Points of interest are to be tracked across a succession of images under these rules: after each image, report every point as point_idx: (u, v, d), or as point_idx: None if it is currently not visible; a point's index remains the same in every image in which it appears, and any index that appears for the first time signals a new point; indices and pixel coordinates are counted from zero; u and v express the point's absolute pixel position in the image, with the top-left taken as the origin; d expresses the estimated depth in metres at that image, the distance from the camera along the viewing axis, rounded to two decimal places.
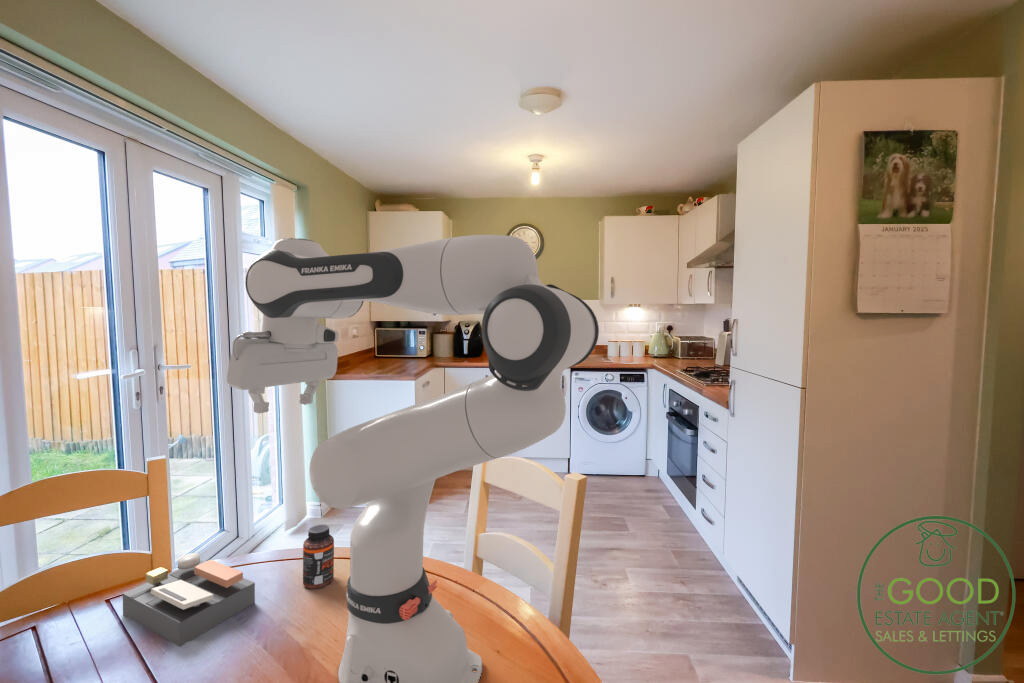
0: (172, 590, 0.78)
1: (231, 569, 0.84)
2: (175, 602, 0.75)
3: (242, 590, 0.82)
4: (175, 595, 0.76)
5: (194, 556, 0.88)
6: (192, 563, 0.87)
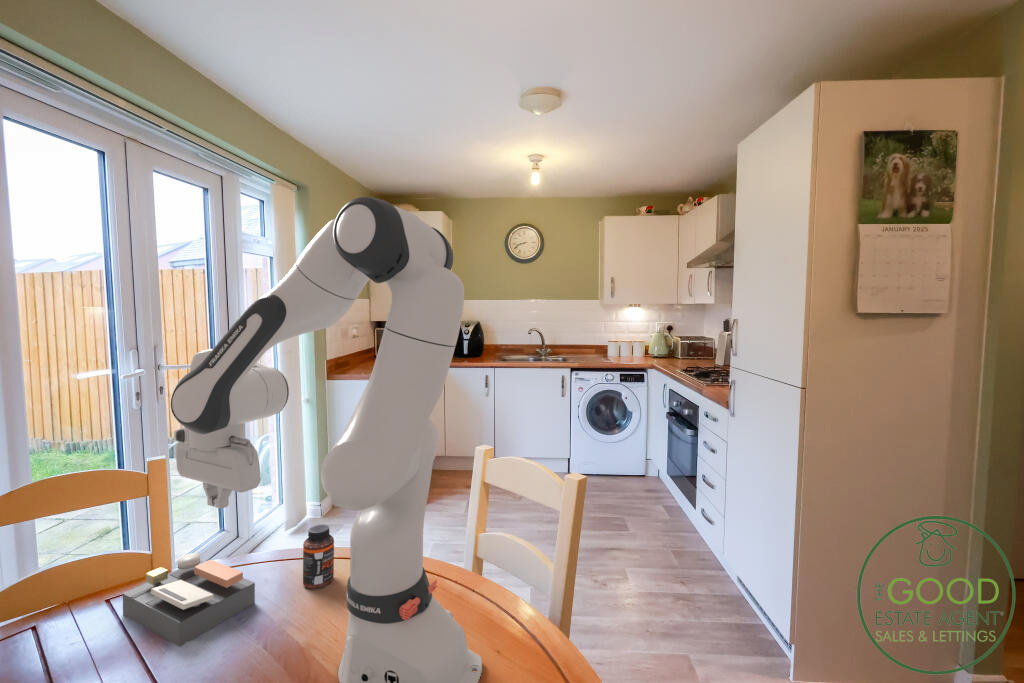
0: (172, 590, 0.78)
1: (231, 569, 0.84)
2: (175, 602, 0.75)
3: (242, 590, 0.82)
4: (175, 595, 0.76)
5: (194, 556, 0.88)
6: (192, 563, 0.87)
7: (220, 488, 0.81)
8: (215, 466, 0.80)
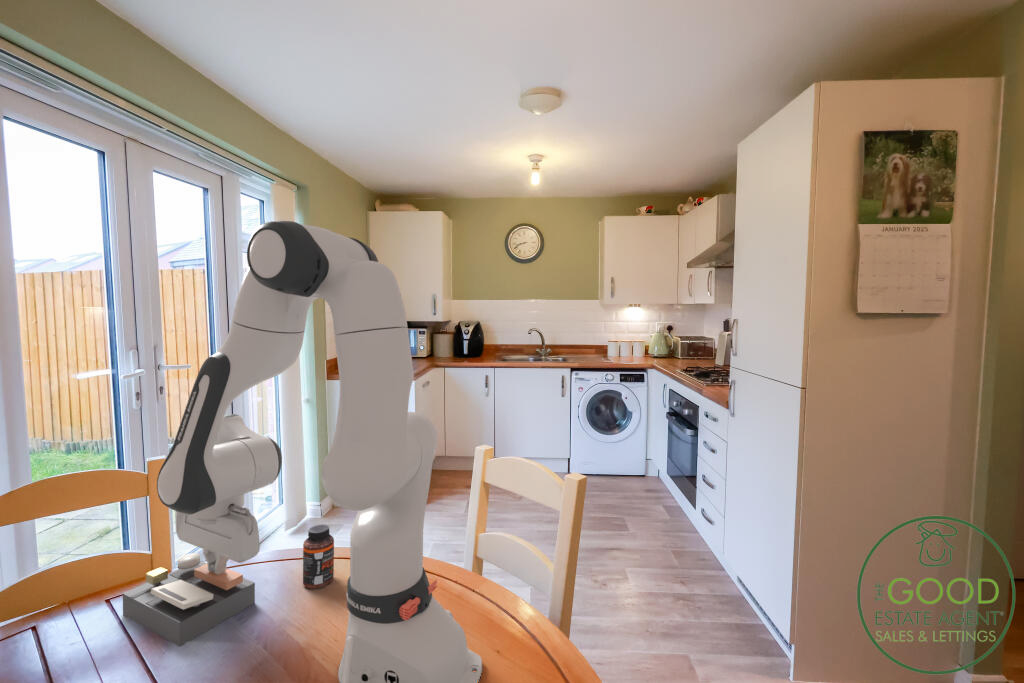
0: (172, 590, 0.78)
1: (231, 571, 0.84)
2: (175, 602, 0.75)
3: (242, 590, 0.82)
4: (175, 595, 0.76)
5: (194, 556, 0.88)
6: (192, 563, 0.87)
7: (218, 555, 0.82)
8: (214, 534, 0.81)
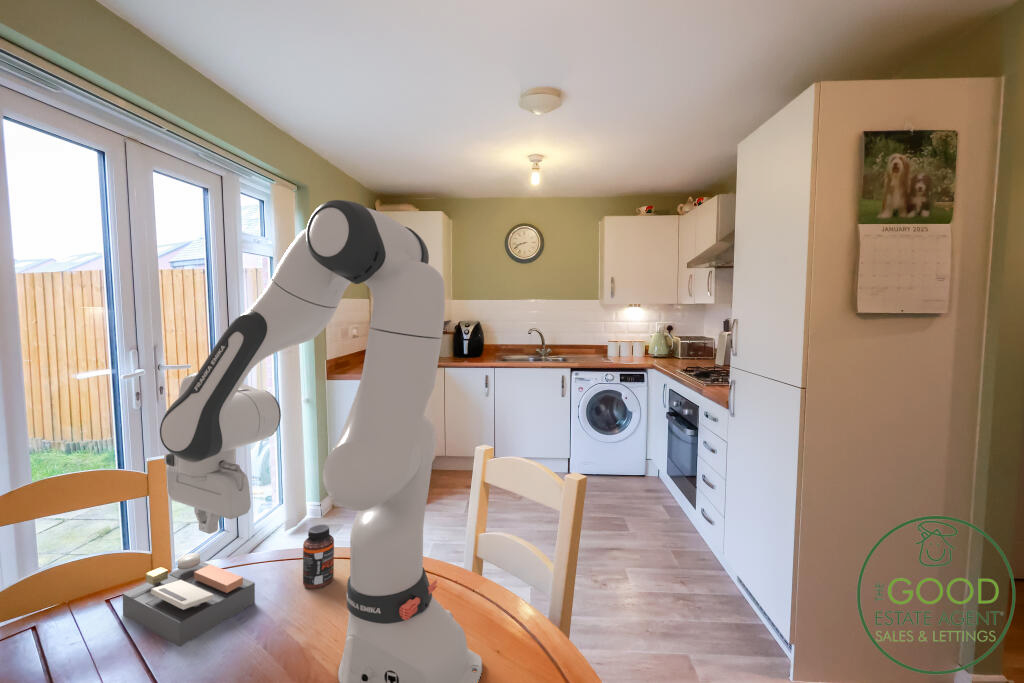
0: (172, 590, 0.78)
1: (231, 574, 0.84)
2: (175, 602, 0.75)
3: (242, 590, 0.82)
4: (175, 595, 0.76)
5: (194, 556, 0.88)
6: (192, 563, 0.87)
7: (209, 513, 0.80)
8: (205, 491, 0.79)
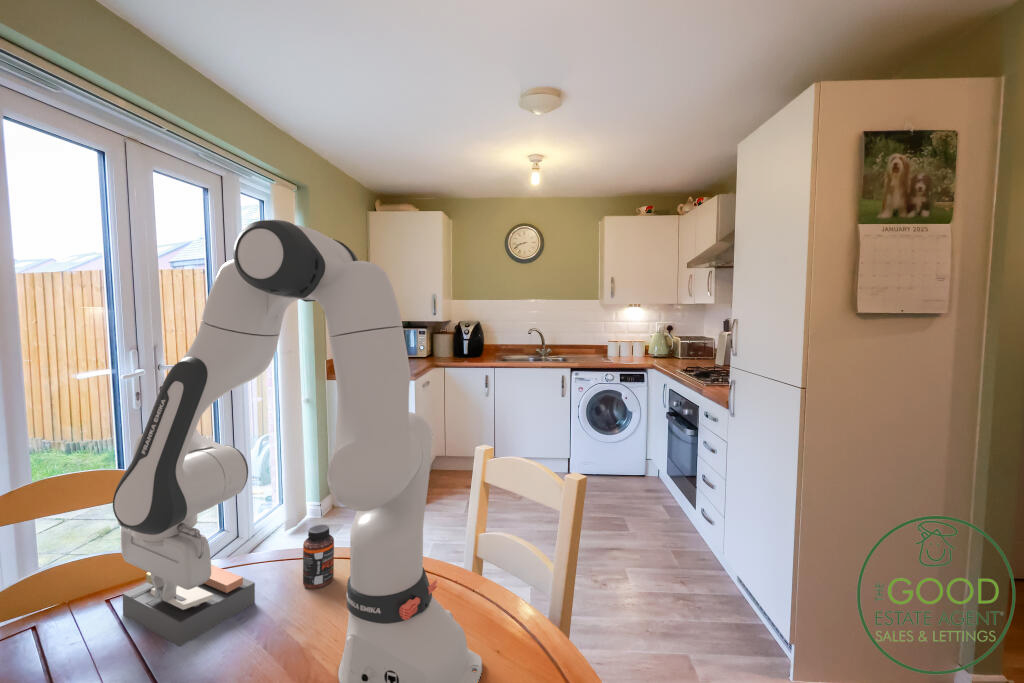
0: None
1: (231, 574, 0.84)
2: (175, 602, 0.75)
3: (242, 590, 0.82)
4: None
5: None
6: None
7: (166, 580, 0.74)
8: (161, 557, 0.73)
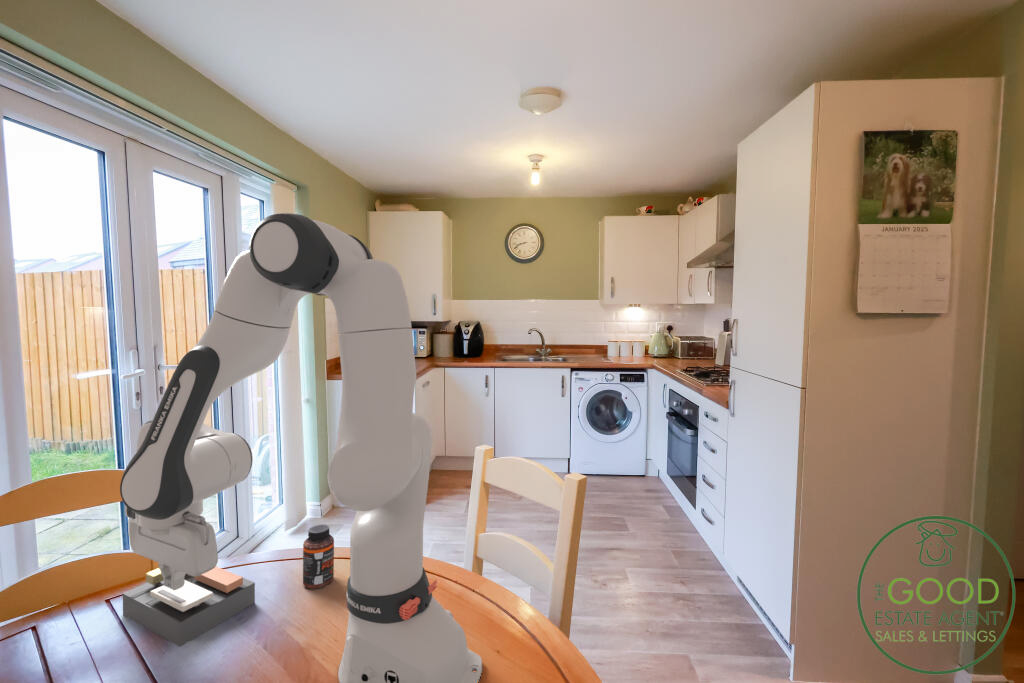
0: (171, 591, 0.78)
1: (231, 574, 0.84)
2: (174, 604, 0.75)
3: (242, 590, 0.82)
4: (174, 597, 0.76)
5: None
6: None
7: (173, 568, 0.74)
8: (168, 546, 0.73)
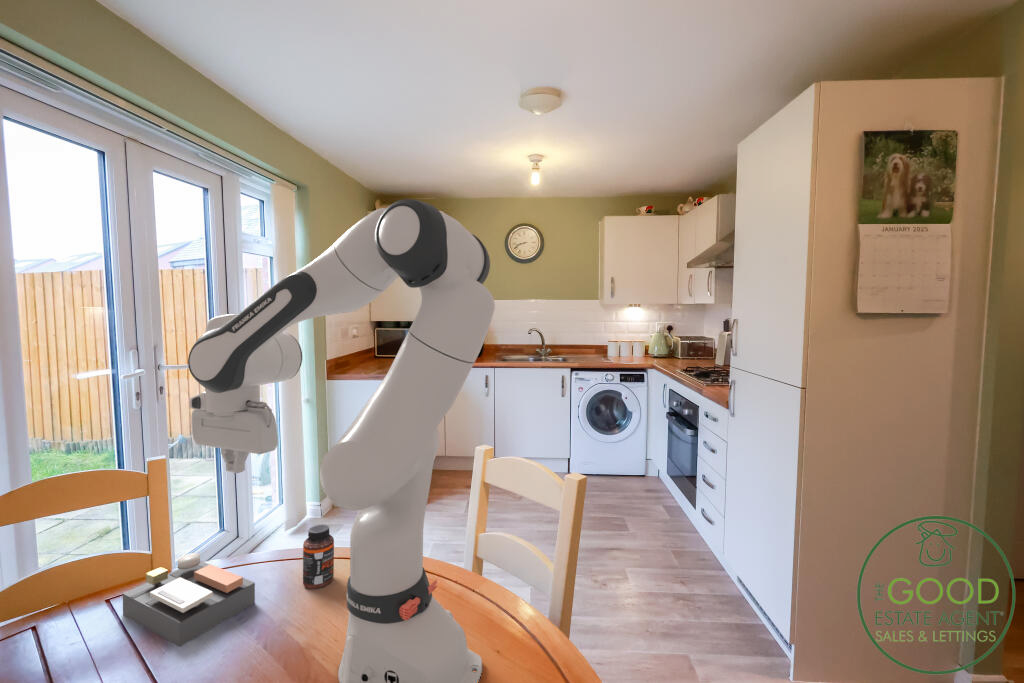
0: (171, 591, 0.78)
1: (231, 574, 0.84)
2: (174, 605, 0.75)
3: (242, 590, 0.82)
4: (174, 598, 0.76)
5: (194, 556, 0.88)
6: (192, 563, 0.87)
7: (236, 452, 0.82)
8: (232, 430, 0.81)
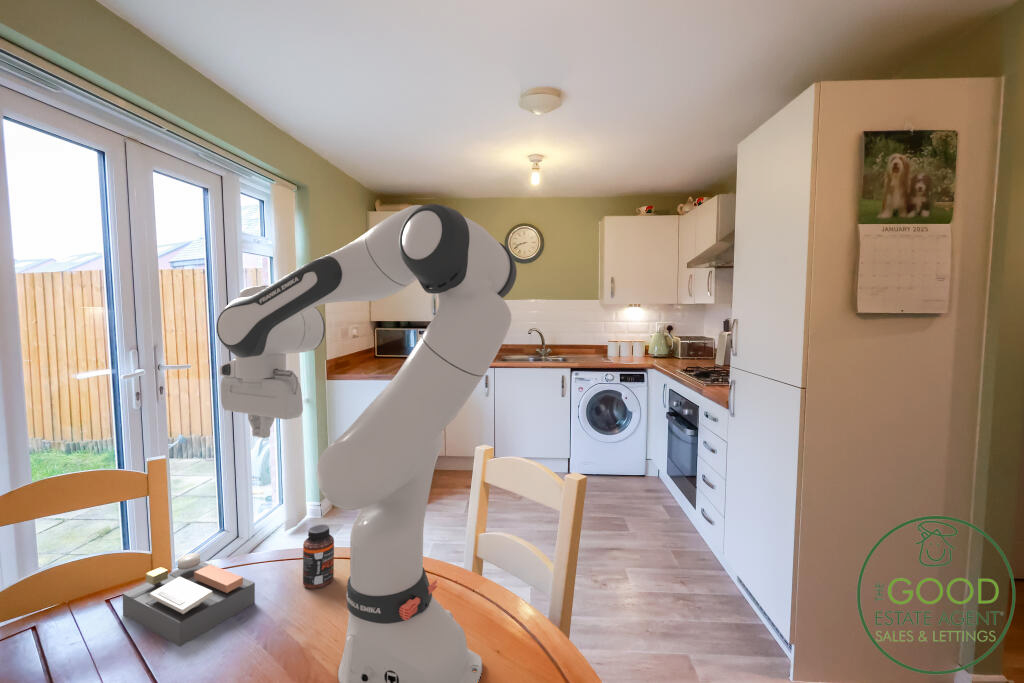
0: (170, 592, 0.78)
1: (231, 574, 0.84)
2: (174, 607, 0.75)
3: (242, 590, 0.82)
4: (173, 599, 0.76)
5: (194, 556, 0.88)
6: (192, 563, 0.87)
7: (263, 418, 0.86)
8: (260, 397, 0.85)
